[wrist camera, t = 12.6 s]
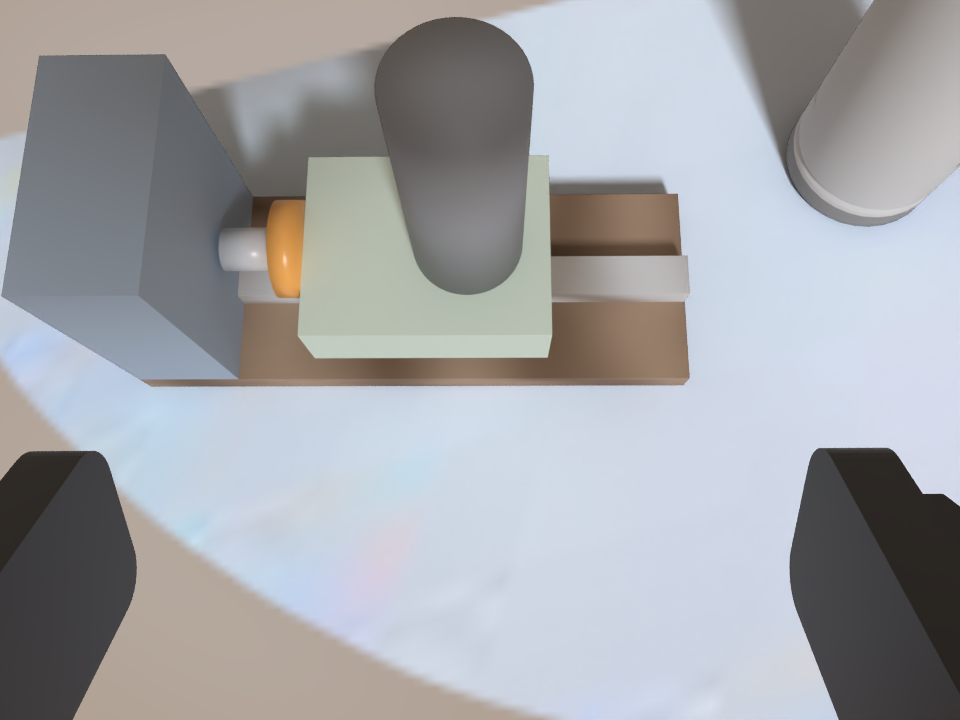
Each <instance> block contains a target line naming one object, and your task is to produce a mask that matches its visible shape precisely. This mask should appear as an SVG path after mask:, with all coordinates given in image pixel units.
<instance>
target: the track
mask: <svg viewBox="0 0 960 720" xmlns="http://www.w3.org/2000/svg"><path fill="white" fill-rule="evenodd" d="M275 200H306V196H300V197H253V204H252V217H251V228H267V221H268V215H269V211H270V208H271V205H272V203H273V202H274V201H275ZM549 200H550V249H551V297H552V339H551V343H550V348H549V353H548V358H314V357H313V355H312V354H311V353H310V351H309V350H308V349H307V347H306V346H305V345H304V344H303V342H302V341H301V340H300V338H299V337H298V319H299V303H300V298H278V297H277V296H276V294H275V293H274V291H273V288H272V285H271V282H270V277H269V272H268V271H240V272H239V284H238V297H239V298H240V299H241V300H242V301H243V302H244V303H245V306H244V319H243V332H242V344H241V357H240V370H239V379H140V380H142V381H143V382H145V383H147V384H148V385H150V386H525V385H684V384H685V383H686V381H687V380H688V379H689V362H688V346H687V331H686V315H685V300H686V299H687V297H688V296H689V294H690V287H689V272H688V256H682V252H681V237H680V221H679V205H678V194H584V195H549Z"/></svg>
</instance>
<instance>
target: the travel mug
mask: <svg viewBox="0 0 960 720" xmlns="http://www.w3.org/2000/svg"><path fill="white" fill-rule="evenodd" d="M787 166H788V170H789V174H790V177H791V179H792V181H793V183H794V185H795V187H796V189H797V190H798V191H799V193H800V194H801V196H802V197H803V198H804V199H805V200H806V201H807V202H808V203H809V204H810V205H811V206H812V207H813V208H814V209H816V210H817V211H819V212H820V213H822V214H823V215H825V216H827V217H829V218H831V219H834V220H836V221H838V222H841V223H845V224H849V225H853V226H867V227H870V226H878V225H884V224H887V223H891V222H894V221H897V220H898V219H900V218H902V217H904V216H905V215H907V214H909V213H910V212H911V211H912V210H913V209H914V208H915V207H916V206H918V205H919V204H920V203H921V202H922V201H923V200H924V199H925V198H926V197H927V196H928V195H929V194H931V192H932V191H934V190H935V189H936V188H937V187H938V186H939V185H940V184H941V183H942V182H943V181H945V180H946V179H947V178H948V177H949V176H950V175H951V174H952V173H953V172H954V171H955V170H956V169H957V168H959V167H960V0H874V1H873V3H872V4H871V6H870V7H869V9H868V11H867V12H866V14H865V15H864V17H863V19H862V20H861V22H860V23H859V25H858V26H857V28H856V30H855V31H854V33H853V34H852V36H851V38H850V39H849V41H848V42H847V44H846V45H845V47H844V49H843V50H842V52H841V53H840V55H839V57H838V58H837V60H836V61H835V63H834V64H833V66H832V68H831V69H830V71H829V72H828V74H827V76H826V77H825V79H824V80H823V82H822V83H821V85H820V87H819V88H818V90H817V91H816V93H815V95H814V96H813V98H812V99H811V101H810V102H809V104H808V106H807V108H806V109H805V111H804V112H803V114H802V115H801V117H800V118H799V120H798V121H797V123H796V125H795V126H794V128H793V130H792V132H791V135H790V137H789V140H788V145H787Z"/></svg>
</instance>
